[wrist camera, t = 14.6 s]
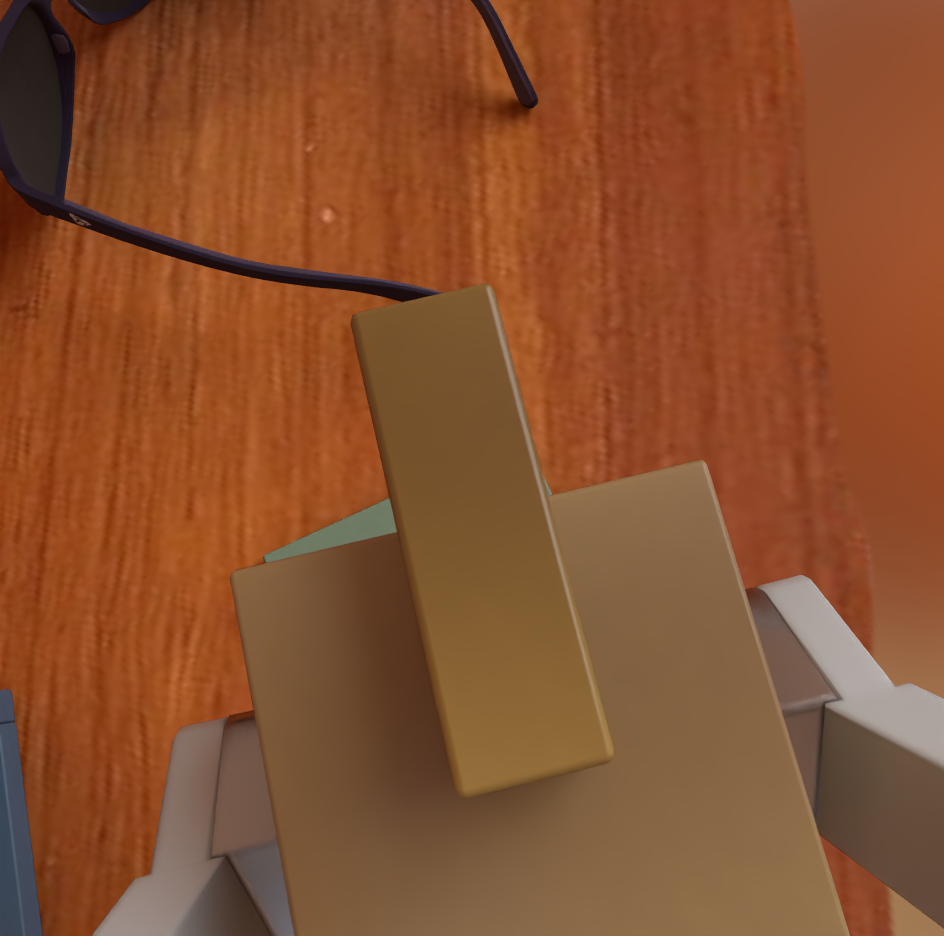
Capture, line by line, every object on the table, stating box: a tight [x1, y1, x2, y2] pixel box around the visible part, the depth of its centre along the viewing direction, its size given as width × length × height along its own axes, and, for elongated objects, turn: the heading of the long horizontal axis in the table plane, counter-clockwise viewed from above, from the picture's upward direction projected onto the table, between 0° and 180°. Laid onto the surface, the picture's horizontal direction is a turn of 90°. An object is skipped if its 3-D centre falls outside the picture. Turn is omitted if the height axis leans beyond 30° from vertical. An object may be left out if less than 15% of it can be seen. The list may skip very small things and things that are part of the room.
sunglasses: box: [0, 0, 538, 302], centre depth 28 cm, size 14×16×5 cm
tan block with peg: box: [230, 284, 850, 936], centre depth 9 cm, size 5×4×8 cm, turn 13°
